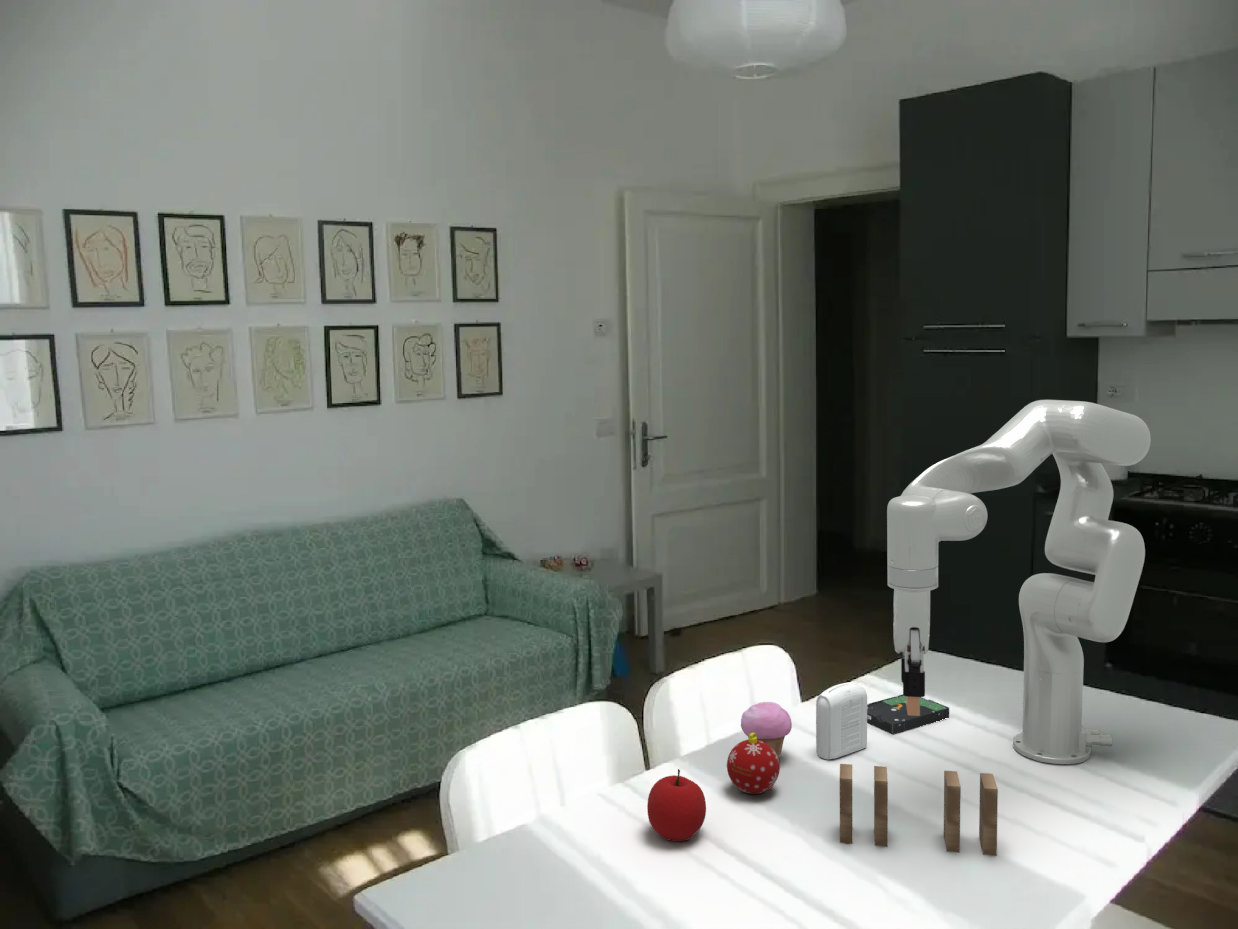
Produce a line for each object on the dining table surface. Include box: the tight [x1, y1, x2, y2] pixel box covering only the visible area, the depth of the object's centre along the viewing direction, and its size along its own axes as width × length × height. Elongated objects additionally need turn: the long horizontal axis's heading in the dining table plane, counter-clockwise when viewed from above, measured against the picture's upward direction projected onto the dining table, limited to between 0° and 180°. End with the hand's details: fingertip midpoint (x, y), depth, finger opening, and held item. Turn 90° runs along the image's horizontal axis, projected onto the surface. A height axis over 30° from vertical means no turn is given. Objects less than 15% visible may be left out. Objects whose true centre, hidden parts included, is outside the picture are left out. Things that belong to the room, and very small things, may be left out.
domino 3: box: [906, 648, 920, 716], centre depth 155 cm, size 2×5×10 cm, turn 167°
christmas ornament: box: [726, 733, 781, 795], centre depth 163 cm, size 9×9×10 cm
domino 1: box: [839, 763, 853, 845], centre depth 148 cm, size 2×5×10 cm, turn 167°
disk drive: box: [867, 694, 950, 736], centre depth 192 cm, size 10×3×15 cm
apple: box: [646, 768, 707, 842], centre depth 150 cm, size 9×9×10 cm
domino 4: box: [943, 770, 962, 853], centre depth 144 cm, size 2×5×10 cm, turn 167°
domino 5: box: [978, 772, 999, 856], centre depth 143 cm, size 2×5×10 cm, turn 167°
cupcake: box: [740, 701, 793, 760], centre depth 175 cm, size 9×9×10 cm
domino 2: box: [873, 765, 889, 847], centre depth 146 cm, size 2×5×10 cm, turn 167°
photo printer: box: [815, 682, 868, 761], centre depth 177 cm, size 10×4×12 cm, turn 123°
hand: (912, 688), depth 155 cm, fingers closed on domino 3, 4 cm apart
